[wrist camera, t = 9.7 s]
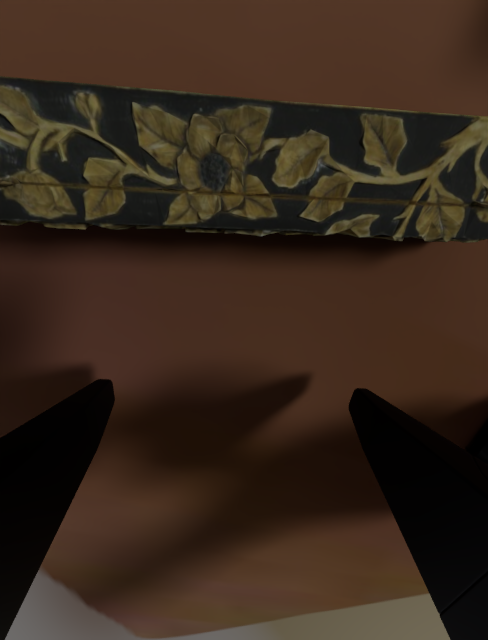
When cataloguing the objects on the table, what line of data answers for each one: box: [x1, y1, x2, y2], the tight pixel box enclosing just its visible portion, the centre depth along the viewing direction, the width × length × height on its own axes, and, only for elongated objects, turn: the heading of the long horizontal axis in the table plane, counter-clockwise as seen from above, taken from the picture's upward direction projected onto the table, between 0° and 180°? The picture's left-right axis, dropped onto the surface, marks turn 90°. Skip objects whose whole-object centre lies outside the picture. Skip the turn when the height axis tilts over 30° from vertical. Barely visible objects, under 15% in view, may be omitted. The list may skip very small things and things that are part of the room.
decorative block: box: [0, 76, 488, 242], centre depth 6 cm, size 15×2×4 cm, turn 87°
